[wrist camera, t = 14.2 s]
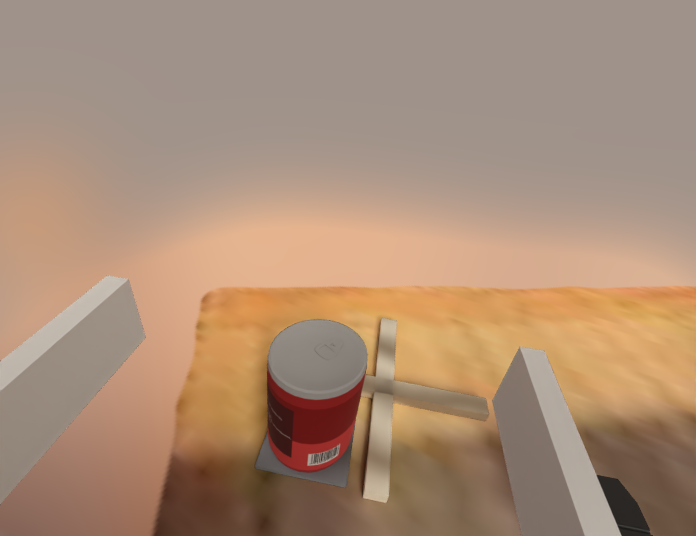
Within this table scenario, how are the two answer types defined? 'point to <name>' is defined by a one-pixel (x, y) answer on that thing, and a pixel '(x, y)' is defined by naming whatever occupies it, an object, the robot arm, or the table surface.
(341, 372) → the canned food
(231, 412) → the table surface
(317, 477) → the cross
